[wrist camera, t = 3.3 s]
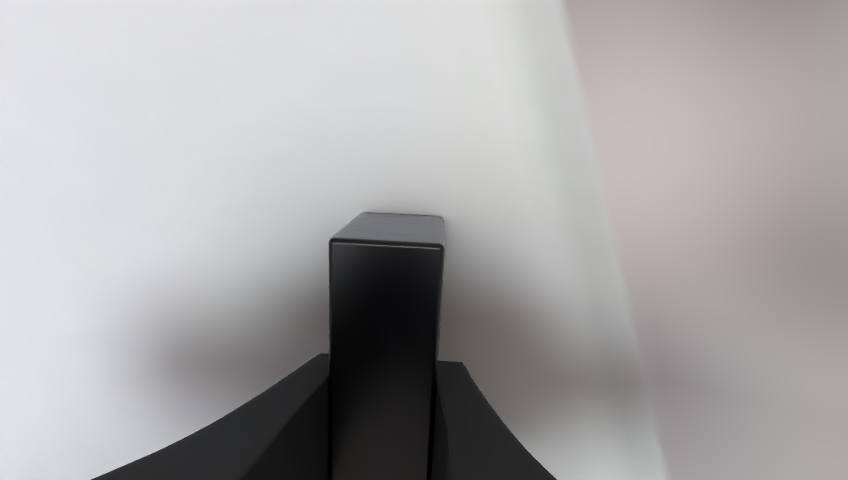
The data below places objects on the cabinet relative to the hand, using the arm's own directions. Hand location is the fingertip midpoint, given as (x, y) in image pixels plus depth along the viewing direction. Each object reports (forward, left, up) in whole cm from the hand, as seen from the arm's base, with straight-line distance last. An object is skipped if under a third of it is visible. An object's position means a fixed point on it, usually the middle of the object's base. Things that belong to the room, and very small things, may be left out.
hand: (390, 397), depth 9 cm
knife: (-5, 0, -1) cm, 5 cm away
